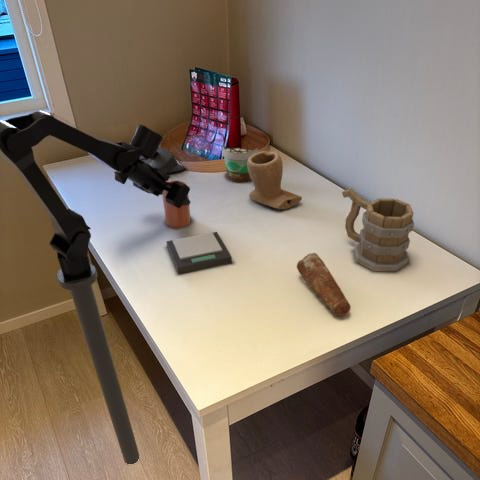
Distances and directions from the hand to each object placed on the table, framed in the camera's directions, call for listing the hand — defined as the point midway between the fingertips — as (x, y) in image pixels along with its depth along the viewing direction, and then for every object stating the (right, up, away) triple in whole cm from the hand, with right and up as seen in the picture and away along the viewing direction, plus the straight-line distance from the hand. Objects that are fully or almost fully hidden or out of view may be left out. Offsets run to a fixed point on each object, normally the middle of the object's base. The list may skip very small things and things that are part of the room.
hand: (179, 198), depth 136 cm
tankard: (+50, -17, -10) cm, 54 cm away
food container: (+16, +12, +24) cm, 31 cm away
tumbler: (-1, -6, +4) cm, 7 cm away
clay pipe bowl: (+26, +1, +11) cm, 29 cm away
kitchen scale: (+6, -17, -10) cm, 21 cm away
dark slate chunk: (-12, +20, +34) cm, 42 cm away
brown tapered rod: (+37, -28, -23) cm, 52 cm away
